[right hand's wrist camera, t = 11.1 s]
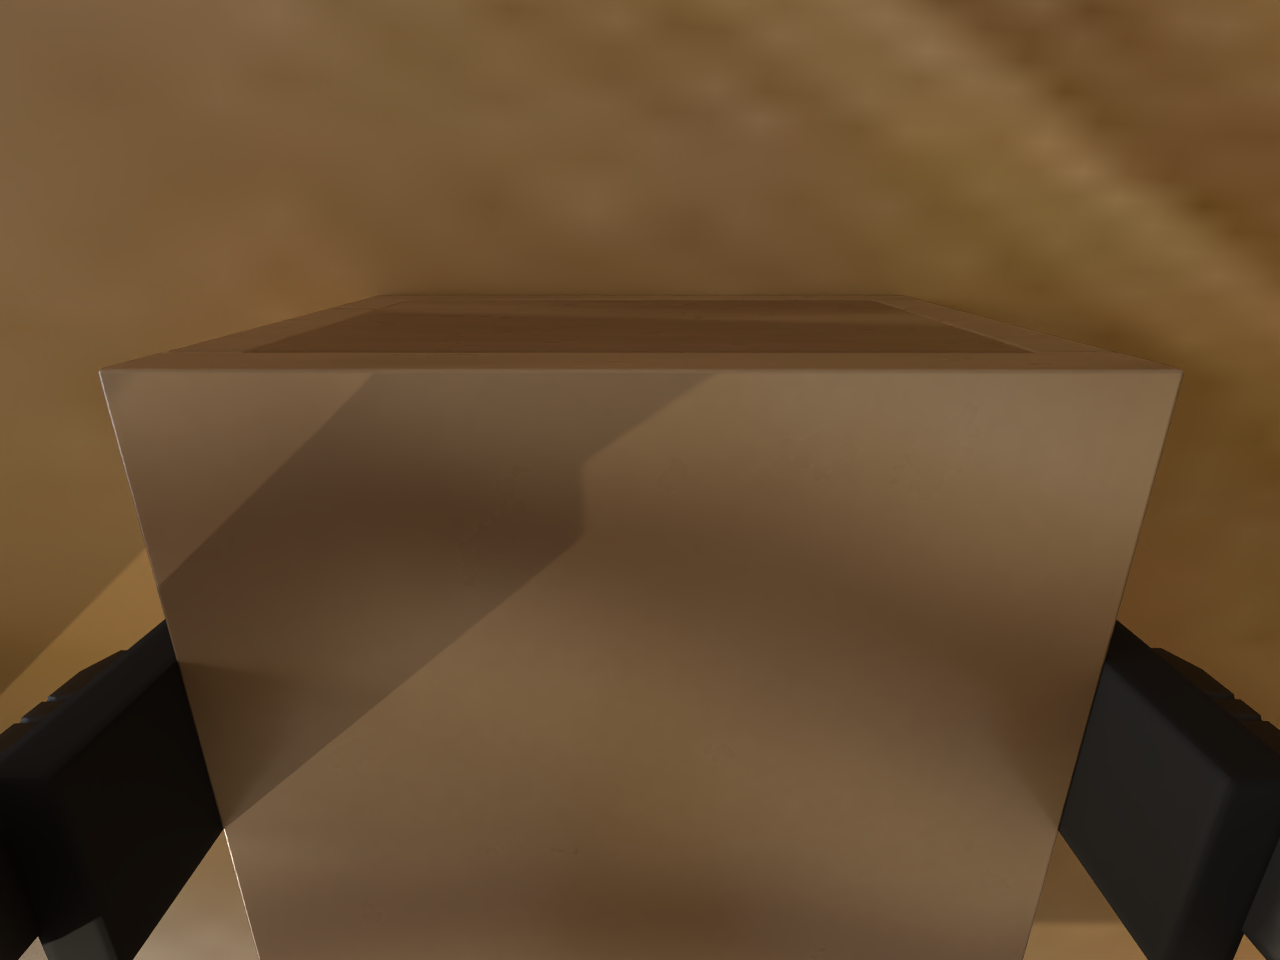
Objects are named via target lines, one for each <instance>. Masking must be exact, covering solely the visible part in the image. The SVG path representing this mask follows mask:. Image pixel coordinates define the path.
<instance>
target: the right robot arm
mask: <svg viewBox="0 0 1280 960" xmlns="http://www.w3.org/2000/svg"><path fill="white" fill-rule="evenodd" d="M222 830H223V827H222V823H221V820H220V816H219V812H218V809H217V805H216V801H215V798H214V794H213V790H212V787H211V783H210V779H209V776H208V772H207V769H206V765H205V761H204V758H203V754H202V750H201V747H200V743H199V739H198V736H197V732H196V728H195V725H194V721H193V717H192V714H191V710H190V706H189V703H188V699H187V695H186V692H185V688H184V684H183V681H182V677H181V674H180V670H179V666H178V663H177V659H176V655H175V652H174V648H173V644H172V641H171V637H170V633H169V630H168V626H167V622H166V619H165V620H164V621H162V622H161V623H160V624H159V625H157V626H156V627H155V628H154V629H153V630H151V631H150V632H149V633H148V634H147V635H145V636H144V637H143V638H142V639H140V640H139V641H138V642H137V643H136V644H134V645H133V646H132V647H131V648H130V649H128V650H121V651H119V652H117V653H115V654H113V655H111V656H109V657H107V658H105V659H103V660H101V661H99V662H98V663H96V664H94V665H92V666H90V667H88V668H86V669H84V670H82V671H80V672H79V673H78V674H76V675H75V676H74V677H72V678H71V679H70V680H69V681H67V682H66V683H65V684H64V685H62V686H61V687H60V688H59V689H57V690H56V691H55V692H54V693H52V694H51V695H50V696H48V701H47V702H41V703H40V704H38V705H37V706H36V707H35V708H33V709H32V710H31V711H30V712H28V713H27V714H26V715H24V716H23V717H22V718H21V722H20V724H13V725H12V726H11V727H9V728H8V729H7V730H6V731H4V732H3V733H2V734H0V960H18V959H19V958H20V957H21V956H22V954H23V953H24V952H25V951H26V950H27V948H28V947H29V946H30V945H31V944H32V943H33V941H34V940H35V939H36V938H37V937H39V939H40V941H41V944H42V946H43V949H44V951H45V953H46V956H47V958H48V960H133V959H134V957H135V956H136V954H137V953H138V951H139V950H140V949H141V947H142V946H143V944H144V943H145V941H146V940H147V939H148V937H149V936H150V934H151V933H152V931H153V930H154V928H155V927H156V926H157V924H158V923H159V921H160V920H161V918H162V917H163V915H164V914H165V913H166V911H167V910H168V908H169V907H170V905H171V904H172V902H173V901H174V900H175V898H176V897H177V895H178V894H179V892H180V891H181V889H182V888H183V887H184V885H185V884H186V882H187V881H188V879H189V878H190V876H191V875H192V874H193V872H194V871H195V869H196V868H197V866H198V865H199V864H200V862H201V861H202V859H203V858H204V856H205V855H206V853H207V852H208V851H209V849H210V848H211V846H212V845H213V843H214V842H215V840H216V839H217V838H218V836H219V835H220V833H221V832H222ZM1058 831H1059V832H1060V833H1061V835H1062V836H1063V838H1064V839H1065V841H1066V842H1067V844H1068V845H1069V846H1070V848H1071V849H1072V851H1073V852H1074V854H1075V855H1076V857H1077V858H1078V859H1079V861H1080V862H1081V864H1082V865H1083V867H1084V868H1085V870H1086V871H1087V872H1088V874H1089V875H1090V877H1091V878H1092V880H1093V881H1094V883H1095V884H1096V885H1097V887H1098V888H1099V890H1100V891H1101V893H1102V894H1103V896H1104V897H1105V898H1106V900H1107V901H1108V903H1109V904H1110V906H1111V907H1112V908H1113V910H1114V911H1115V913H1116V914H1117V916H1118V917H1119V919H1120V920H1121V921H1122V923H1123V924H1124V926H1125V927H1126V929H1127V930H1128V932H1129V933H1130V934H1131V936H1132V937H1133V939H1134V940H1135V942H1136V943H1137V945H1138V946H1139V947H1140V949H1141V950H1142V952H1143V953H1144V955H1145V956H1146V958H1147V959H1148V960H1233V958H1234V956H1235V954H1236V951H1237V949H1238V947H1239V944H1240V942H1241V939H1242V937H1243V935H1244V934H1245V935H1246V936H1247V938H1248V939H1249V940H1250V941H1251V942H1252V943H1253V945H1254V946H1255V947H1256V948H1257V949H1258V950H1259V952H1260V953H1261V954H1262V955H1263V956H1264V957H1265V959H1266V960H1280V730H1279V729H1277V728H1276V727H1275V726H1274V725H1272V724H1271V723H1270V722H1268V721H1262V720H1261V715H1260V714H1258V713H1257V712H1256V711H1254V710H1253V709H1252V708H1251V707H1249V706H1248V705H1247V704H1246V703H1244V702H1243V701H1242V700H1240V699H1235V698H1234V694H1233V693H1232V692H1230V691H1229V690H1228V689H1226V688H1225V687H1224V686H1223V685H1221V684H1220V683H1219V682H1218V681H1216V680H1215V679H1214V678H1212V677H1211V676H1210V675H1209V674H1207V673H1206V672H1205V671H1204V670H1202V669H1200V668H1199V667H1197V666H1195V665H1193V664H1191V663H1189V662H1187V661H1185V660H1183V659H1181V658H1179V657H1177V656H1175V655H1173V654H1171V653H1169V652H1167V651H1166V650H1164V649H1162V648H1150V647H1149V646H1148V645H1146V644H1145V643H1144V642H1143V641H1142V640H1140V639H1139V638H1138V637H1137V636H1136V635H1134V634H1133V633H1132V632H1131V631H1129V630H1128V629H1127V628H1126V627H1125V626H1123V625H1122V624H1121V623H1120V622H1119V621H1117V620H1116V622H1115V626H1114V629H1113V633H1112V637H1111V640H1110V644H1109V648H1108V651H1107V655H1106V659H1105V662H1104V666H1103V670H1102V673H1101V677H1100V680H1099V684H1098V688H1097V691H1096V695H1095V699H1094V702H1093V706H1092V710H1091V713H1090V717H1089V720H1088V724H1087V728H1086V731H1085V735H1084V739H1083V742H1082V746H1081V750H1080V753H1079V757H1078V761H1077V764H1076V768H1075V771H1074V775H1073V779H1072V782H1071V786H1070V790H1069V793H1068V797H1067V801H1066V804H1065V808H1064V811H1063V815H1062V819H1061V822H1060V826H1059V830H1058Z"/></svg>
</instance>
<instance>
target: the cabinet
mask: <svg viewBox="0 0 1280 960" xmlns="http://www.w3.org/2000/svg"><path fill="white" fill-rule="evenodd" d="M98 374H99V378H100V381H101V385H102V389H103V392H104V396H105V399H106V403H107V407H108V410H109V414H110V418H111V421H112V425H113V429H114V432H115V436H116V440H117V443H118V447H119V451H120V454H121V458H122V462H123V465H124V469H125V473H126V476H127V480H128V484H129V487H130V491H131V494H132V498H133V502H134V505H135V509H136V513H137V516H138V520H139V524H140V527H141V531H142V535H143V538H144V542H145V546H146V549H147V553H148V557H149V560H150V564H151V568H152V571H153V575H154V579H155V582H156V586H157V589H158V593H159V597H160V600H161V604H162V608H163V611H164V615H165V619H166V622H167V626H168V630H169V633H170V637H171V641H172V644H173V648H174V652H175V655H176V659H177V663H178V666H179V670H180V674H181V677H182V681H183V684H184V688H185V692H186V695H187V699H188V703H189V706H190V710H191V714H192V717H193V721H194V725H195V728H196V732H197V736H198V739H199V743H200V747H201V750H202V754H203V758H204V761H205V765H206V769H207V772H208V776H209V779H210V783H211V787H212V790H213V794H214V798H215V801H216V805H217V809H218V812H219V816H220V820H221V823H222V827H223V831H224V834H225V838H226V842H227V845H228V849H229V853H230V856H231V860H232V864H233V867H234V871H235V874H236V878H237V882H238V885H239V889H240V893H241V896H242V900H243V904H244V907H245V911H246V915H247V918H248V922H249V926H250V929H251V933H252V937H253V940H254V944H255V948H256V951H257V955H258V959H259V960H1023V957H1024V953H1025V950H1026V946H1027V943H1028V939H1029V935H1030V932H1031V928H1032V924H1033V921H1034V917H1035V913H1036V910H1037V906H1038V902H1039V899H1040V895H1041V892H1042V888H1043V884H1044V881H1045V877H1046V873H1047V870H1048V866H1049V862H1050V859H1051V855H1052V852H1053V848H1054V844H1055V841H1056V837H1057V833H1058V830H1059V826H1060V822H1061V819H1062V815H1063V811H1064V808H1065V804H1066V801H1067V797H1068V793H1069V790H1070V786H1071V782H1072V779H1073V775H1074V771H1075V768H1076V764H1077V761H1078V757H1079V753H1080V750H1081V746H1082V742H1083V739H1084V735H1085V731H1086V728H1087V724H1088V720H1089V717H1090V713H1091V710H1092V706H1093V702H1094V699H1095V695H1096V691H1097V688H1098V684H1099V680H1100V677H1101V673H1102V670H1103V666H1104V662H1105V659H1106V655H1107V651H1108V648H1109V644H1110V640H1111V637H1112V633H1113V629H1114V626H1115V622H1116V619H1117V615H1118V611H1119V608H1120V604H1121V600H1122V597H1123V593H1124V589H1125V586H1126V582H1127V579H1128V575H1129V571H1130V568H1131V564H1132V560H1133V557H1134V553H1135V549H1136V546H1137V542H1138V538H1139V535H1140V531H1141V528H1142V524H1143V520H1144V517H1145V513H1146V509H1147V506H1148V502H1149V498H1150V495H1151V491H1152V487H1153V484H1154V480H1155V477H1156V473H1157V469H1158V466H1159V462H1160V458H1161V455H1162V451H1163V447H1164V444H1165V440H1166V437H1167V433H1168V429H1169V426H1170V422H1171V418H1172V415H1173V411H1174V407H1175V404H1176V400H1177V396H1178V393H1179V389H1180V386H1181V382H1182V378H1183V375H1184V373H1183V370H1181V369H1179V368H1176V367H1172V366H1168V365H1165V364H1161V363H1157V362H1153V361H1150V360H1146V359H1142V358H1138V357H1135V356H1131V355H1127V354H1123V353H1115V352H1113V351H1109V350H1106V349H1102V348H1098V347H1094V346H1091V345H1087V344H1083V343H1079V342H1076V341H1072V340H1068V339H1064V338H1061V337H1057V336H1053V335H1049V334H1046V333H1042V332H1038V331H1034V330H1031V329H1027V328H1023V327H1019V326H1016V325H1012V324H1008V323H1004V322H1001V321H997V320H993V319H989V318H986V317H982V316H978V315H974V314H971V313H967V312H963V311H959V310H956V309H952V308H948V307H944V306H941V305H937V304H933V303H929V302H926V301H922V300H918V299H914V298H911V297H907V296H903V295H379V296H375V297H371V298H367V299H364V300H360V301H356V302H352V303H348V304H345V305H341V306H337V307H333V308H330V309H326V310H322V311H318V312H315V313H311V314H307V315H303V316H299V317H296V318H292V319H288V320H284V321H281V322H277V323H273V324H269V325H266V326H262V327H258V328H254V329H250V330H247V331H243V332H239V333H235V334H232V335H228V336H224V337H220V338H217V339H213V340H209V341H205V342H201V343H198V344H194V345H190V346H186V347H183V348H179V349H175V350H171V351H168V352H166V353H158V354H154V355H150V356H146V357H142V358H139V359H135V360H131V361H127V362H124V363H120V364H116V365H112V366H108V367H105V368H102V369H100V370H99V373H98Z"/></svg>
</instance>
